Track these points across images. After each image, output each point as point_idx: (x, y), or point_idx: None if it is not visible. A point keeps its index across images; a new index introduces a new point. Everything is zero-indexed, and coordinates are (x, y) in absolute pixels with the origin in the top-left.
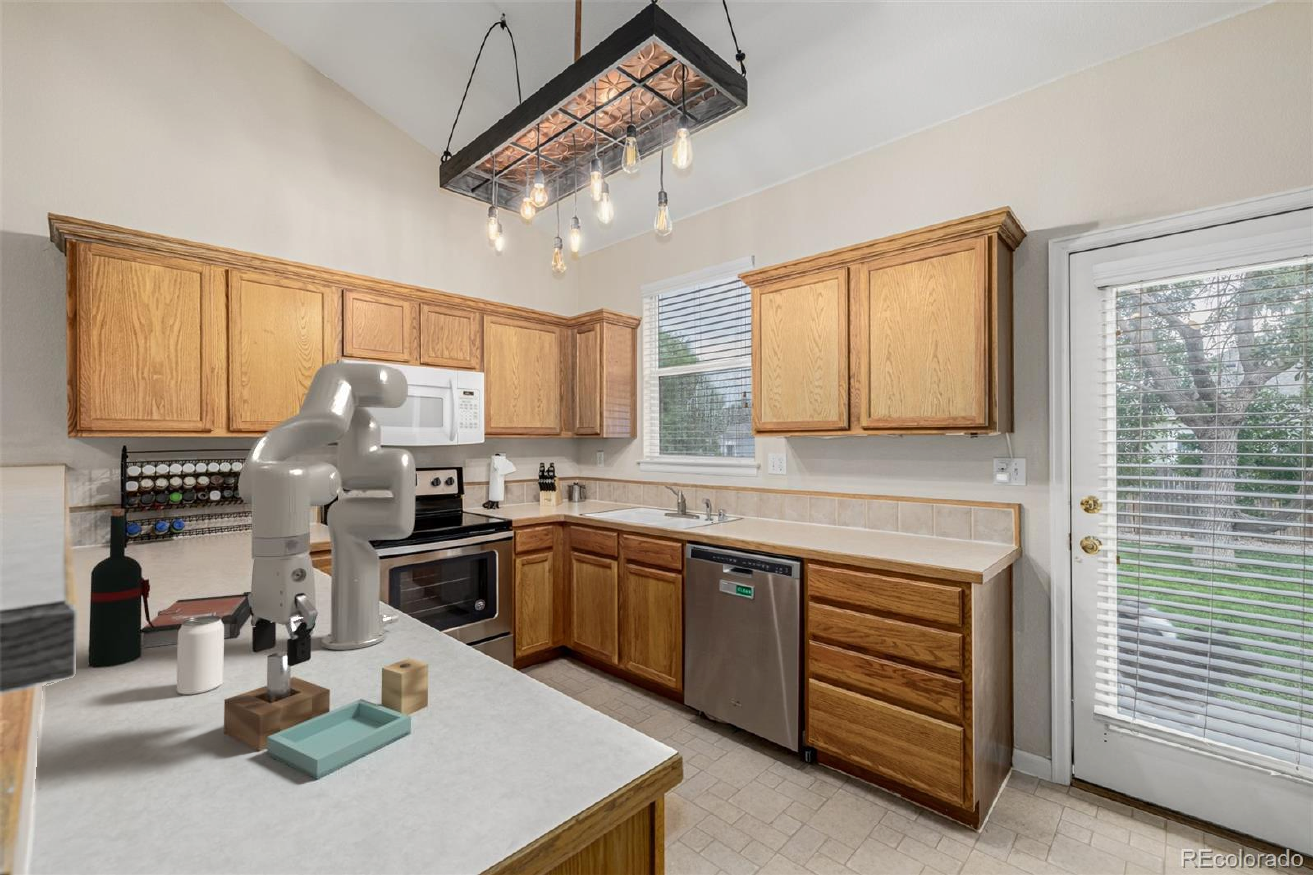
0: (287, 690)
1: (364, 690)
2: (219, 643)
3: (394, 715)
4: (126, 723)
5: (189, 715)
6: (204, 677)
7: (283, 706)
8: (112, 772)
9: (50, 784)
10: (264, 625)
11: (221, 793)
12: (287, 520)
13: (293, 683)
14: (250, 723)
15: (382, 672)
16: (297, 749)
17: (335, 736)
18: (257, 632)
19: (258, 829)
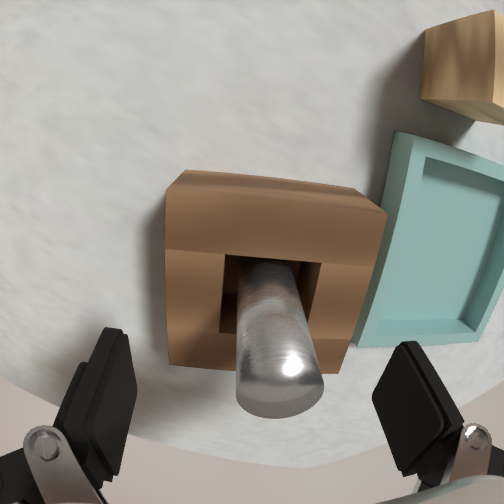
0: (300, 300)
1: (271, 9)
2: None
3: None
4: (17, 340)
5: (44, 293)
6: None
7: (351, 332)
8: (176, 417)
9: (149, 438)
10: (100, 461)
11: (370, 390)
12: None
13: (227, 229)
14: None
15: (486, 103)
16: (438, 343)
17: (428, 244)
18: (119, 457)
19: (453, 388)
